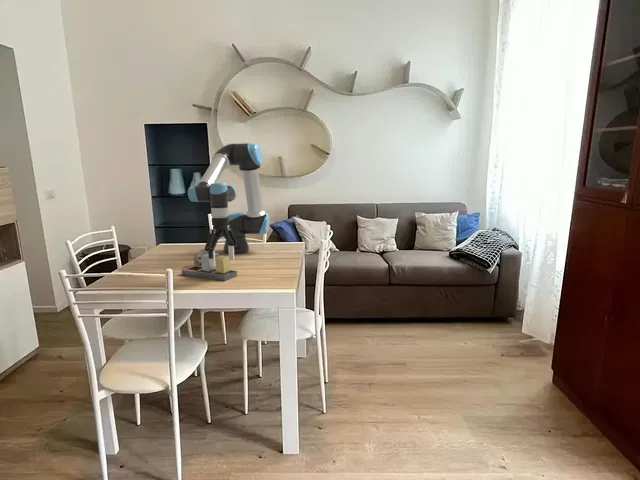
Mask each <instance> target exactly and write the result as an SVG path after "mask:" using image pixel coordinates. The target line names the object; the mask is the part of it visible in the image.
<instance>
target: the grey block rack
mask: <svg viewBox="0 0 640 480" xmlns="http://www.w3.org/2000/svg"><path fill="white" fill-rule="evenodd" d="M181 275H182V276H186V275H187V277H193V276H194V278H200V277H201V278H202V279H207V278H208V280H215V281H222V282H226V281H229V280H231V279H233V278H237V277H238V270H232V269H230V273H228V274H225V275H222V274H216V271H213V272H211V273H207V272H202V266H197V265H194V264H193V265H192V266H188V267H185V268H183V269H181Z"/></svg>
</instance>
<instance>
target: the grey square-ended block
mask: <svg viewBox="0 0 640 480" xmlns="http://www.w3.org/2000/svg"><path fill="white" fill-rule="evenodd" d="M201 262H202V272H207V273H211V272H213V271H216V266H212V265H210V260H209V254H205V255H202V256H201Z"/></svg>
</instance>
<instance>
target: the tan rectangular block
mask: <svg viewBox="0 0 640 480" xmlns="http://www.w3.org/2000/svg"><path fill="white" fill-rule="evenodd" d="M215 261H216V274H222V275H225V274H228V273H230V270H231V264H230V261H231V260H230V259H229V255H223V254H222V255H219V256H218V257H215Z"/></svg>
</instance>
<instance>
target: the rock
mask: <svg viewBox="0 0 640 480" xmlns="http://www.w3.org/2000/svg"><path fill="white" fill-rule="evenodd" d="M205 254H208V251H205V248H201V249H199V250H198V251H197V252H196V253H195V254H194V256H193V266H194V265H197V266H202V262H201V256H202V255H205ZM218 256H220V255H219V253H216V252H215V257H218ZM215 263H216V261H215Z"/></svg>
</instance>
